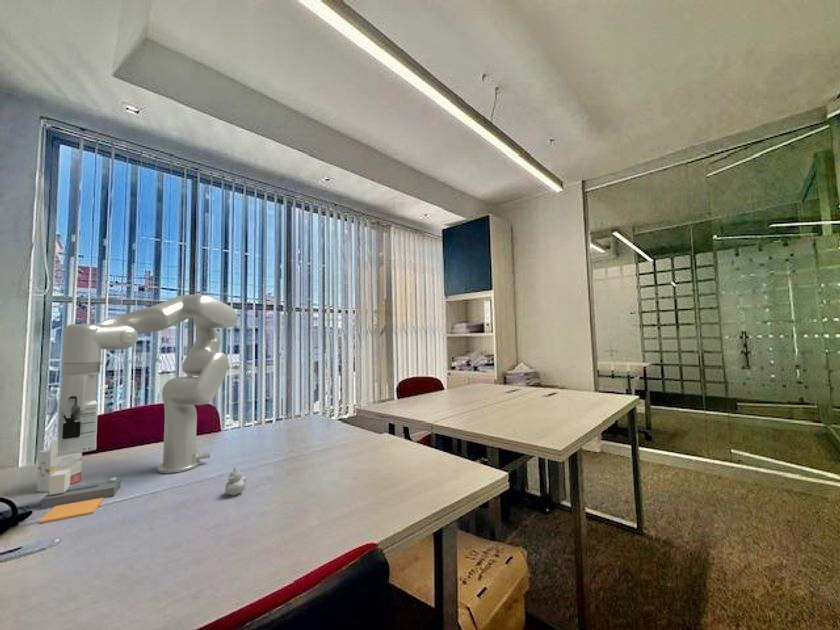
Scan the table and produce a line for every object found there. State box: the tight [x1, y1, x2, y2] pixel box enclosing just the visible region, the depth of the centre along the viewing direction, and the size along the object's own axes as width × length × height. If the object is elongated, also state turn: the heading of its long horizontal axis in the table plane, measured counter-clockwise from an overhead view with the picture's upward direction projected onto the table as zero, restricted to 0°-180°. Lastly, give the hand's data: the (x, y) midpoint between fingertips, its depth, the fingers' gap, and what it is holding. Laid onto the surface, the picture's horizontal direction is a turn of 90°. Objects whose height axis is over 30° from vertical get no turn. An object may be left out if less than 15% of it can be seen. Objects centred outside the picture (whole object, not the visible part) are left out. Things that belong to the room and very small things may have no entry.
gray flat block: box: [40, 476, 122, 510], centre depth 99 cm, size 15×7×3 cm, turn 119°
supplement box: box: [57, 399, 99, 456], centre depth 93 cm, size 7×7×13 cm
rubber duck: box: [224, 466, 247, 496], centre depth 102 cm, size 5×7×8 cm
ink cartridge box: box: [36, 440, 83, 493], centre depth 107 cm, size 9×5×15 cm, turn 169°
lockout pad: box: [39, 497, 105, 525], centre depth 92 cm, size 10×9×1 cm
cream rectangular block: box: [48, 469, 71, 495], centre depth 97 cm, size 3×4×5 cm
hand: (78, 433), depth 93 cm, fingers closed on supplement box, 8 cm apart
